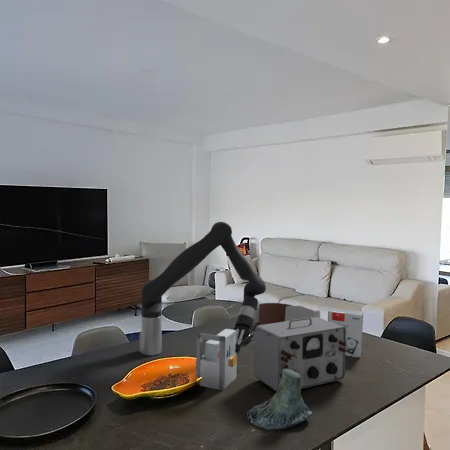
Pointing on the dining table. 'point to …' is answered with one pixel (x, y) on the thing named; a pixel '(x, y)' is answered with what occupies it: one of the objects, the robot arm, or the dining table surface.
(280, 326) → the vintage electronic device
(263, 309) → the letter holder
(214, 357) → the skincare box
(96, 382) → the dining table surface
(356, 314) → the hard drive box
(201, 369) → the rack bay
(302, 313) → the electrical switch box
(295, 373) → the tree stump
